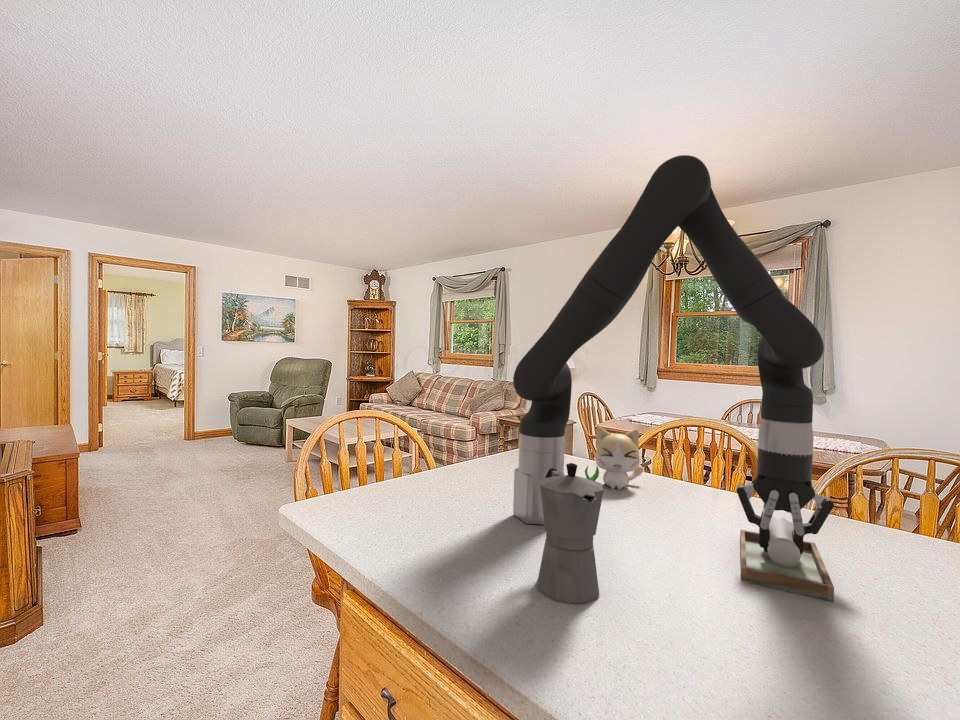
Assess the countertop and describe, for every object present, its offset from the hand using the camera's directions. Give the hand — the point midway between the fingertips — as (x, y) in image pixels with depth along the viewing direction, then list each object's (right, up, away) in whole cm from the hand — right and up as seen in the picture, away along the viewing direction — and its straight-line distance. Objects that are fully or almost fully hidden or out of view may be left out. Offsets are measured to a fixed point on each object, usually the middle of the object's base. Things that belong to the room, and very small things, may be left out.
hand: (780, 552), depth 77 cm
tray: (0, -2, 0) cm, 2 cm away
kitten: (-14, -1, +45) cm, 47 cm away
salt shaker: (+4, +1, +6) cm, 8 cm away
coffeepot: (-37, -2, -8) cm, 38 cm away
